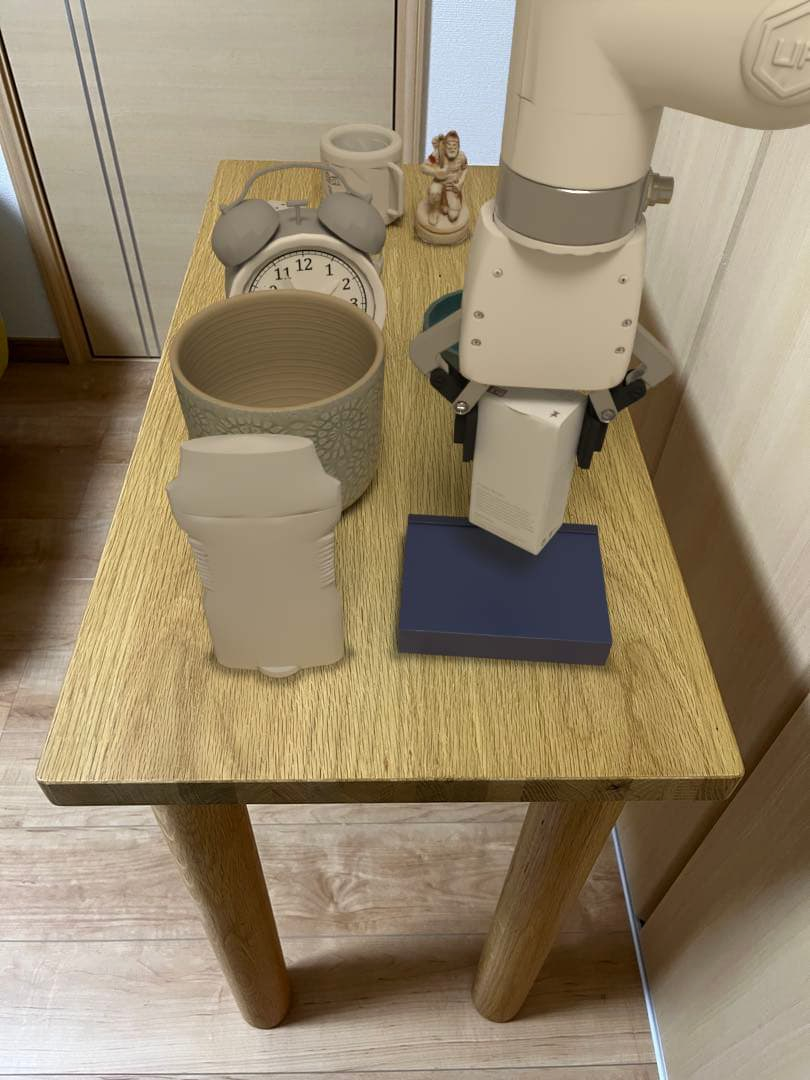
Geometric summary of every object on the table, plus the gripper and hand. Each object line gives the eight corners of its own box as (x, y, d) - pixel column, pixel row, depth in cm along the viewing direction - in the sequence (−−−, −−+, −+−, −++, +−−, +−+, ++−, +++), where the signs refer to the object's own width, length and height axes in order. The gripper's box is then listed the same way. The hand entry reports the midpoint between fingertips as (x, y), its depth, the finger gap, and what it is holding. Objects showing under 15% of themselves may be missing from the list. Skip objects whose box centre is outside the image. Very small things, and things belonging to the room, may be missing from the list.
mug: (307, 210, 114) (302, 135, 106) (366, 188, 119) (365, 115, 111) (371, 247, 107) (371, 169, 100) (431, 222, 112) (434, 146, 105)
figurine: (432, 262, 108) (443, 167, 95) (403, 225, 111) (410, 128, 97) (478, 242, 110) (495, 147, 97) (448, 207, 113) (461, 109, 99)
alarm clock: (235, 403, 84) (201, 191, 68) (230, 354, 90) (197, 149, 74) (392, 385, 87) (395, 177, 71) (377, 339, 93) (376, 137, 76)
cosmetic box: (563, 524, 61) (596, 392, 52) (534, 560, 59) (563, 428, 50) (493, 490, 63) (512, 358, 55) (461, 523, 61) (476, 391, 52)
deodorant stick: (349, 631, 65) (338, 411, 49) (349, 675, 62) (338, 457, 46) (213, 636, 64) (157, 415, 48) (208, 680, 62) (146, 462, 45)
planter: (174, 461, 78) (139, 320, 67) (332, 407, 84) (325, 270, 73) (244, 580, 68) (217, 438, 57) (418, 509, 74) (424, 368, 63)
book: (590, 549, 71) (597, 524, 69) (604, 666, 63) (613, 641, 61) (407, 538, 72) (408, 513, 70) (397, 652, 64) (398, 628, 61)
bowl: (547, 325, 95) (553, 290, 92) (554, 401, 86) (561, 365, 82) (425, 319, 96) (426, 284, 92) (418, 393, 86) (420, 357, 83)
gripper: (721, 172, 45) (645, 424, 58) (406, 157, 46) (400, 410, 59) (752, 238, 40) (661, 498, 53) (396, 220, 40) (393, 482, 54)
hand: (524, 450), depth 56 cm, fingers closed on cosmetic box, 7 cm apart
